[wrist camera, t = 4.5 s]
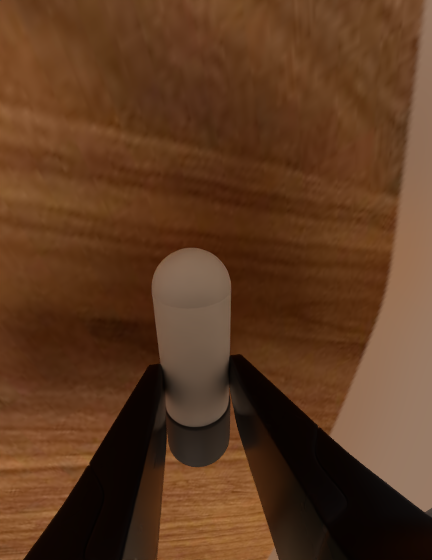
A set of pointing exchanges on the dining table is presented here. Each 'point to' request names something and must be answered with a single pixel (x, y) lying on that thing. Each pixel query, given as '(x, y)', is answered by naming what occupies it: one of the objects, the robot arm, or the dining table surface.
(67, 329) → the dining table surface
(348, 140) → the dining table surface
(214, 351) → the marker
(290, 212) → the dining table surface
